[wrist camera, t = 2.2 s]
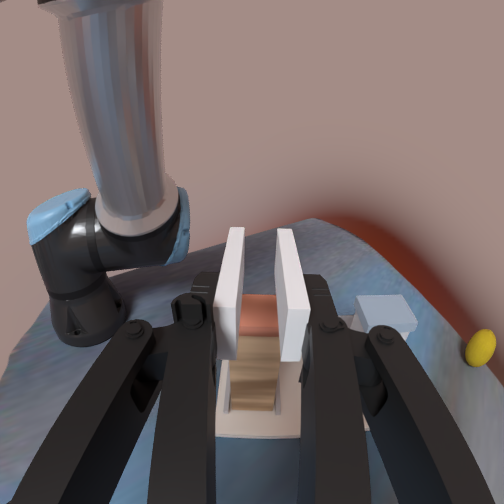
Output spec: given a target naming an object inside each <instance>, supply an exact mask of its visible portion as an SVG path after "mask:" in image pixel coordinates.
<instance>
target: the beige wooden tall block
mask: <svg viewBox="0 0 504 504" xmlns="http://www.w3.org/2000/svg"><path fill="white" fill-rule="evenodd" d="M280 360H281V356H280V340H279V326H278V312H277V299H276V295H255V294H242V302H241V314H240V326H239V337H238V349H237V360H229V371H230V388H231V404H232V410H248V411H272V410H273V404H274V398H275V392H276V386H277V379H278V373H279V366H280Z"/></svg>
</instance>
